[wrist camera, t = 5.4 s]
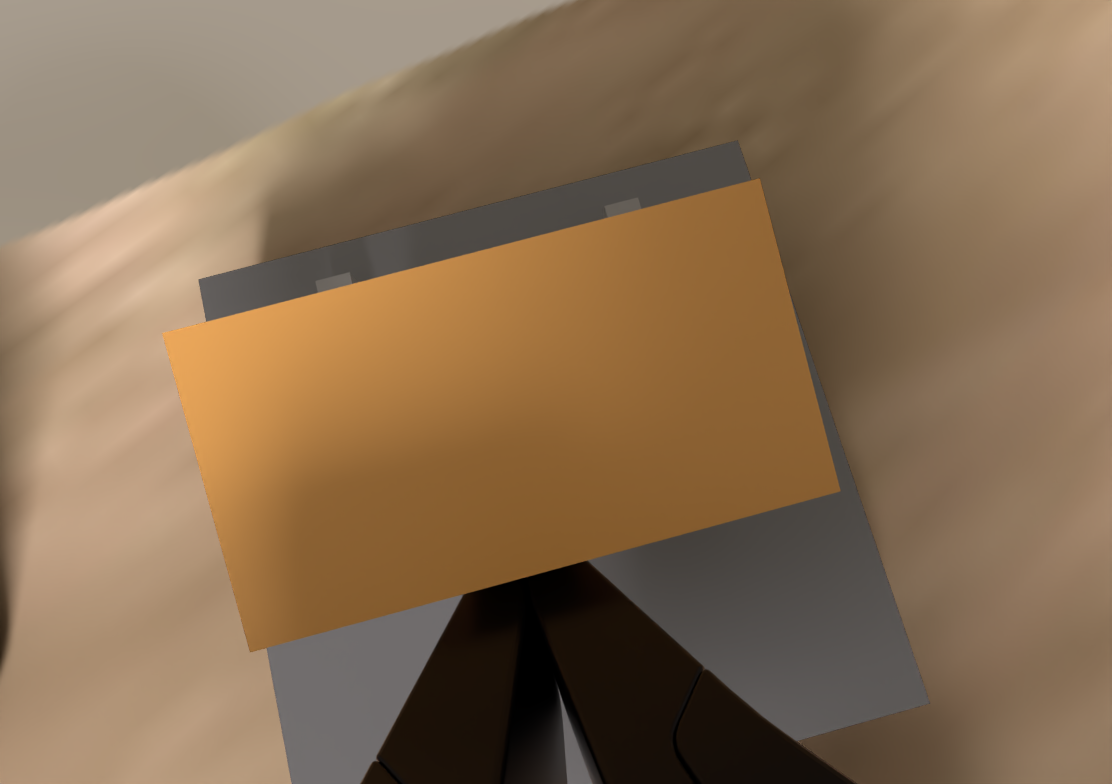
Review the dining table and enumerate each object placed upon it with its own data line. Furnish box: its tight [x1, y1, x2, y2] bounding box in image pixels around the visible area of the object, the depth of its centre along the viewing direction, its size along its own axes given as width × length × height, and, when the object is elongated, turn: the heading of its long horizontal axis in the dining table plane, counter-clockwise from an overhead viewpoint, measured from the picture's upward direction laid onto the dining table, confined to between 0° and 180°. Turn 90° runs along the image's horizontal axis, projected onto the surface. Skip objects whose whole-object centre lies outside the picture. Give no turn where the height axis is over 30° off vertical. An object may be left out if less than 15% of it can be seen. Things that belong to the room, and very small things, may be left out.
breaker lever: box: [162, 178, 840, 652], centre depth 13 cm, size 3×6×10 cm, turn 105°
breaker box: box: [198, 140, 930, 784], centre depth 20 cm, size 14×14×5 cm
